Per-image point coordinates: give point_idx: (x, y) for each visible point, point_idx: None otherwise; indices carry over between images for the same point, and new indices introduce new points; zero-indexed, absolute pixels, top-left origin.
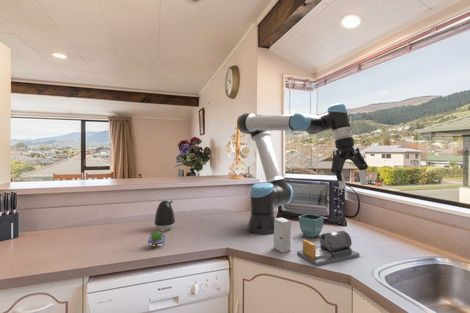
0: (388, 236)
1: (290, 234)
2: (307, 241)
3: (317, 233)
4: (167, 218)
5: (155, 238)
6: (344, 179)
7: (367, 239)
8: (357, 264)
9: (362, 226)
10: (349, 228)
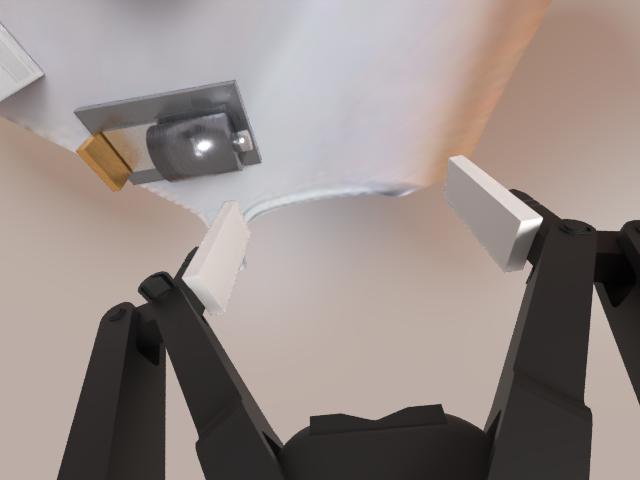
0: (484, 35)
1: (8, 96)
2: (94, 165)
3: None
4: None
5: None
6: (238, 271)
7: (385, 43)
8: (233, 188)
9: None
10: None
